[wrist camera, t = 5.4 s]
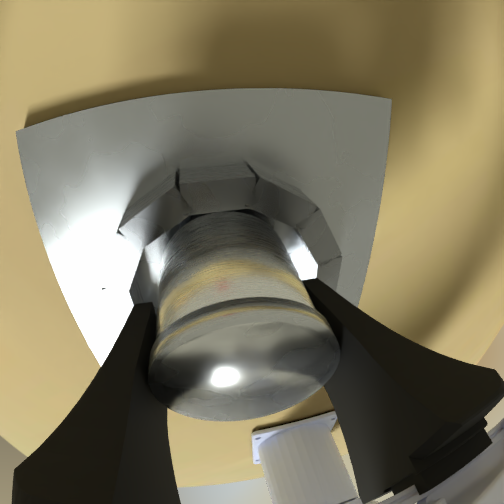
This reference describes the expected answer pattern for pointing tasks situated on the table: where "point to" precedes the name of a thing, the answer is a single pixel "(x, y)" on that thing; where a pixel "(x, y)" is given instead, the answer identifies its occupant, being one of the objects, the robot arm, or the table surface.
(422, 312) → the table surface
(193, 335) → the round metal knob
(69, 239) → the flange plate
